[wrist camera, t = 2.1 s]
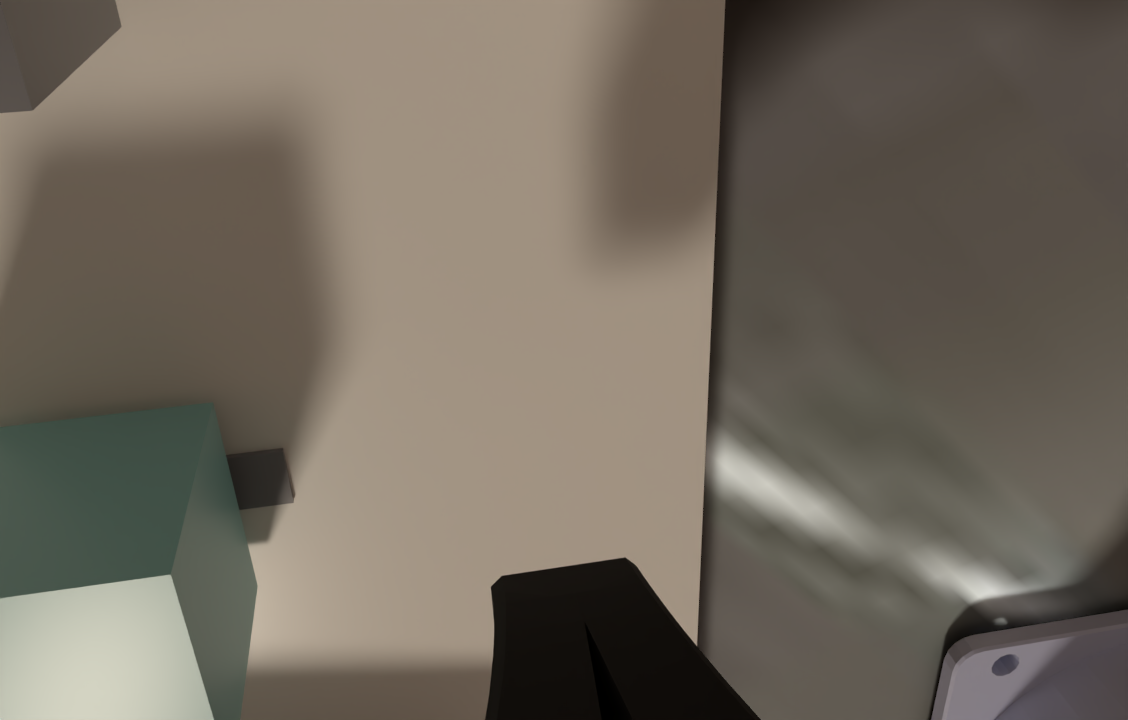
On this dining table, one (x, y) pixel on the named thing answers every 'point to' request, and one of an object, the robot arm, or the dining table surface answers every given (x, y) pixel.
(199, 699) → the teal slider
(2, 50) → the graphite slider
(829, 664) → the dining table surface
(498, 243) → the panel
